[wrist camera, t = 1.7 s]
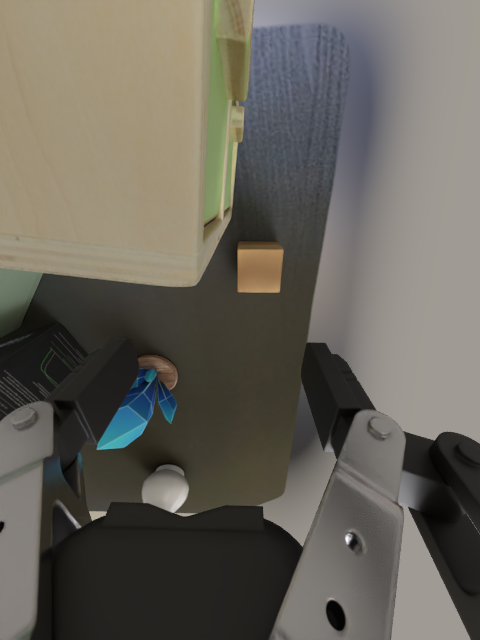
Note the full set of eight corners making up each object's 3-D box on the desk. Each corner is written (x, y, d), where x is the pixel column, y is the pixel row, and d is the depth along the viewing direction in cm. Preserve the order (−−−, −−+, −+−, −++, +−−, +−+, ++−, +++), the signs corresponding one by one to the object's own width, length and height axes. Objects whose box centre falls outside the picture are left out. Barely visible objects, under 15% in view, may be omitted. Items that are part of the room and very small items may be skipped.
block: (238, 241, 25) (237, 249, 21) (277, 241, 25) (283, 249, 21) (238, 279, 27) (237, 292, 23) (274, 279, 27) (279, 292, 23)
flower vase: (216, 487, 51) (196, 705, 29) (136, 485, 51) (55, 702, 29) (215, 454, 45) (188, 700, 23) (123, 451, 45) (8, 695, 23)
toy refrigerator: (238, 221, 24) (222, 297, 5) (170, 212, 24) (-94, 260, 5) (249, 126, 20) (308, -684, 2) (167, 114, 20) (-888, -1062, 1)
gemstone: (142, 394, 37) (101, 472, 26) (124, 352, 33) (67, 425, 22) (185, 391, 36) (162, 470, 26) (173, 349, 32) (139, 422, 22)
